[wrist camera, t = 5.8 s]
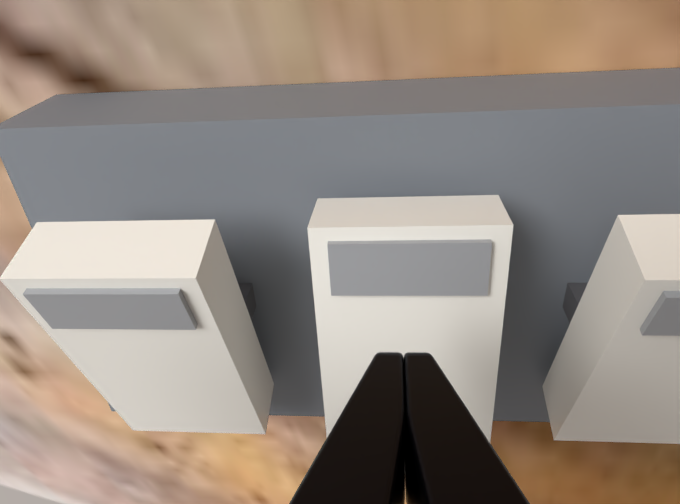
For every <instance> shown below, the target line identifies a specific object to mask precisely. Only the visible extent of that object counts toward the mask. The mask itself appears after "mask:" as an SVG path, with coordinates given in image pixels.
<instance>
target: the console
mask: <svg viewBox="0 0 680 504" xmlns="http://www.w3.org/2000/svg"><path fill="white" fill-rule="evenodd" d="M0 157H1V159H2V161H3V163H4V166H5V168H6V170H7V173H8V175H9V177H10V179H11V182H12V184H13V186H14V189H15V191H16V193H17V195H18V198H19V200H20V202H21V205H22V207H23V209H24V211H25V214H26V216H27V218H28V221H29V223H30V225H31V227H32V229H33V227H34V226H35V224H36V223H37V222H78V221H142V220H206V219H215V221H216V223H217V226H218V229H219V232H220V234H221V237H222V240H223V243H224V246H225V248H226V251H227V254H228V257H229V260H230V262H231V265H232V268H233V271H234V274H235V276H236V279H237V282H238V285H239V287H240V290H241V293H242V296H243V299H244V301H245V304H246V307H247V310H248V313H249V315H250V318H251V321H252V324H253V327H254V329H255V332H256V335H257V338H258V340H259V343H260V346H261V349H262V352H263V354H264V357H265V360H266V363H267V366H268V368H269V371H270V374H271V377H272V380H273V382H274V387H273V393H272V399H271V405H270V411H269V415H287V416H325V413H324V402H323V392H322V381H321V370H320V359H319V349H318V338H317V327H316V316H315V305H314V295H313V284H312V273H311V262H310V252H309V241H308V230H307V227H308V224H309V221H310V219H311V216H312V213H313V210H314V207H315V204H316V201H317V198H364V197H415V196H465V195H499V197H500V199H501V201H502V203H503V205H504V207H505V209H506V211H507V213H508V215H509V217H510V219H511V221H512V223H513V234H512V244H511V253H510V262H509V272H508V281H507V290H506V300H505V309H504V318H503V328H502V337H501V347H500V356H499V365H498V375H497V384H496V393H495V403H494V412H493V421H528V422H550V420H549V415H548V411H547V406H546V401H545V397H544V392H543V387H542V386H543V384H544V381H545V379H546V377H547V374H548V372H549V370H550V368H551V365H552V363H553V361H554V359H555V356H556V354H557V352H558V350H559V347H560V345H561V343H562V340H563V338H564V336H565V334H566V331H567V329H568V327H569V325H570V322H571V320H572V318H573V316H574V313H575V311H576V309H577V306H578V304H579V302H580V300H581V297H582V295H583V293H584V291H585V288H586V286H587V284H588V282H589V279H590V277H591V275H592V272H593V270H594V268H595V266H596V263H597V261H598V259H599V257H600V254H601V252H602V250H603V248H604V245H605V243H606V241H607V238H608V236H609V234H610V232H611V229H612V227H613V225H614V223H615V220H616V218H617V216H618V215H643V214H680V68H662V69H638V70H615V71H592V72H569V73H546V74H523V75H500V76H476V77H453V78H430V79H407V80H384V81H361V82H338V83H314V84H291V85H268V86H245V87H222V88H199V89H175V90H152V91H129V92H106V93H83V94H60V95H55V96H53V97H51V98H49V99H47V100H45V101H43V102H41V103H39V104H37V105H35V106H33V107H31V108H29V109H27V110H25V111H23V112H21V113H19V114H17V115H15V116H14V117H12V118H10V119H8V120H6V121H4V122H2V123H0ZM109 406H110V408H111V410H112V411H115V409H114V408H113V407H112V406H111V405H110V404H109Z"/></svg>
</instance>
